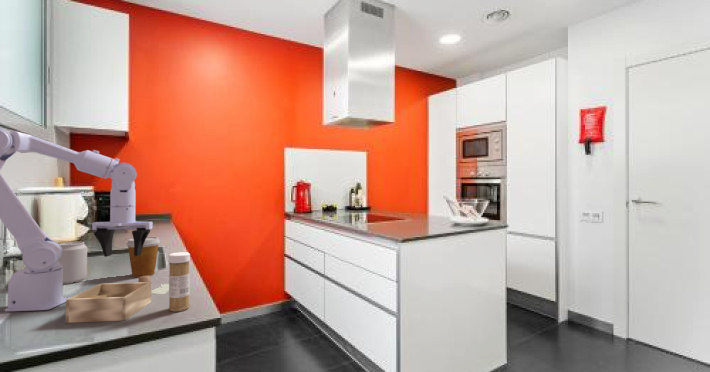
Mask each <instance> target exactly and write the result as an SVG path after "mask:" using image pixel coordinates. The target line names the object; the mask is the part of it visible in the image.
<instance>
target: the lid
mask: <svg viewBox="0 0 710 372" xmlns="http://www.w3.org/2000/svg"><path fill="white" fill-rule="evenodd" d="M137 281H138V282H137V283H142V282H151V283H152V275H150V276H141V277H138V279H137ZM160 284H161V287H162V288H161V287H159V288H156V289H154V290H151V294H159V295H165V294H167V293H169V283H160ZM163 284H164V285H163Z"/></svg>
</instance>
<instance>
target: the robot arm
mask: <svg viewBox="0 0 710 372" xmlns="http://www.w3.org/2000/svg"><path fill="white" fill-rule="evenodd" d="M17 152H18V153H20V154H27V153H36V154H37V153H38V154H41V155H44V156H48V157H52V158H54V159H58V160H61V161H63V162H68V163H72V164H74V167H75V168H76V170H77V171H79V172H82V173H84V174H85V173H86V174H89V175H92V176H95V177H99V178H101V179H106V180H107V179H108V178H109V179H111V189H110V191H109V192H110V197H109V198H110V201H109V202H110V208H109V210H110V211H109V212H110V213H109V215H110V216H109V217H110V218H109V221H96V222H92V223H91V227H92V228H91V230H92V231H94V232H93V235H94V236H95V238H96V239H97V241H98V243H99V245H100V247H101V249H102V253H103V256H104V257H105V258H106V257H111V256H112V254H113V237H114V234H115V230H132V231H131V234H132V237H133V239H134V255H135V256H139V255H141V251H142V248H143V245H144V242H145V240H146V238H147V237H149V234H150V233H151V230H152V229H153V225H154V223H153V221H137V220H136V202H137V201H136V200H137V199H136V198H137V197H136V189H135V187H136V183H135V180H136V178H137V177H138V173H137V170H136V169H135V166H133V165H132V164H130V163H128V162H120V160H121V159H119V158H118V157H115V158H112V157H109V156H106V155H103V154H100V151H99V150H95V149H92V150H88V149H87V150H83V151H76V150H74V149H70V148H68V147H66V146H65V147H64V146H62V145H59V144H57V143H54V142H51V141H48V140H46V139H43V138H40V137H38V136H35V135H31V134H28V133H25V132H19V131H16V130H12V129H9V130H6V129H5V128H3V127H0V171H2V168H3V166H4V165H5V163H6V161H7V160H8V159H9V158H11V157H12V156H14V155H15V154H16V153H17ZM0 221H1V222H2V223H3V225H4V226H5V227H6V229H7V230H8V232H9V233H10V234H11V235H12V236H13V238H14V239H15V242H16V244H17V248H18V250H19V251H20V252H21V254H22V263H23V265H24V268H23V269H22V270H18V271H16V272H14V273H13V274H12V275H11V276H10V278H9V280H8V285H7V286H8V287H7V288H8V289H7V308H5V309H4V311H5V312H28V311H49V310H51V309H53V308H56V307H58V306H60V305H62V304H65V303H66V299H69V298H71V297H72V296H71V297H69V296H68V297H64V284H63V265H62V264H60V263H59V262H58V259H59V258H60V256H61V255H62V247H61V245H60V244H61V243H59V242H58V241H56V240H53V239H51V237H50V236H48V234H47V233H46V232H45V231H44V230H43V229H42V228H41V227H40V226H39V225H38V223H37V222H36V220H35V219H34V218H33V216H32V215H31V213H30V212H29V211H28V210H27V208H26V207H25V205H24V204H23V202H22V201H21V200H20V199H19V196H17V195H16V193H15V192H14V190H13V189H12V188H11V186H10V184H9V183H8V181H7V180H6V179H5V177H4V176H3V175H2V174H1V173H0Z"/></svg>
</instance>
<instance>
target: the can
mask: <svg viewBox="0 0 710 372" xmlns="http://www.w3.org/2000/svg"><path fill="white" fill-rule="evenodd" d="M59 244H60V245H61V247H62V255H61V256H60V258H59V259H58V262H59V263H60V264H62V265H63V285H70V284H71V285H72V284H74V283H73V282H76V283H81V282H83V281H84V280H85V279H87V277H88V246H86V244H85V241H68V242H61V243H59ZM76 283H75V284H76Z"/></svg>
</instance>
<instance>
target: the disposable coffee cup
mask: <svg viewBox="0 0 710 372" xmlns="http://www.w3.org/2000/svg"><path fill="white" fill-rule="evenodd" d="M160 243H161V241H160V238H159V237H157V236H147V238H146V240H145V242H144V245H143V248H142V251H141V255H139V256H135V255H134V239H133V238H129V239H128V240H127V243H126V246H127V247H128V248H127V249H128V256H129V262H130V263H129V264H130V270H131V276H132V277H134V278H139V277H141V276H152V275H154V274H156V273H155V272H156V267H157V265H156V264H157V259H158V258H157V257H158V249H159V246H160Z"/></svg>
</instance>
